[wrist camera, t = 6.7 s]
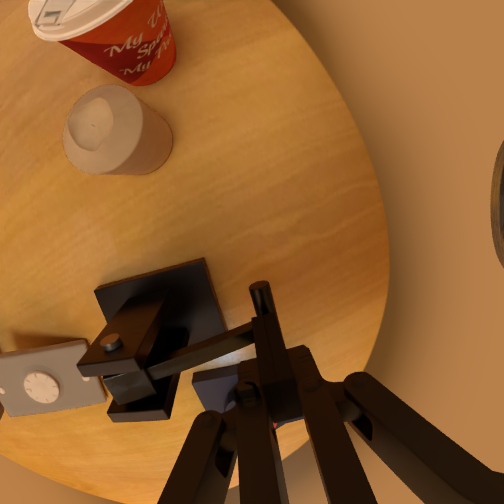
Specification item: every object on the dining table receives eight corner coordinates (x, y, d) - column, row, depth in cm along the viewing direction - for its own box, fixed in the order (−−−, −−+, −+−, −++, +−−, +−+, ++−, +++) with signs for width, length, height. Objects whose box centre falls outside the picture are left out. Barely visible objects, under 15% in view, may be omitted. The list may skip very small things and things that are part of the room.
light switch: (108, 407, 26) (8, 422, 19) (102, 379, 31) (13, 394, 24) (85, 347, 24) (-23, 364, 17) (84, 323, 29) (-12, 340, 22)
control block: (297, 349, 27) (305, 369, 24) (310, 406, 30) (316, 427, 26) (193, 373, 28) (189, 394, 24) (220, 426, 30) (219, 447, 26)
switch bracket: (204, 257, 25) (180, 321, 13) (229, 335, 27) (228, 428, 15) (98, 286, 25) (30, 348, 13) (129, 355, 27) (89, 435, 15)
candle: (104, 160, 22) (37, 153, 12) (132, 104, 21) (78, 67, 11) (154, 185, 23) (104, 190, 13) (185, 127, 22) (153, 94, 12)
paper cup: (166, 106, 21) (96, 33, 8) (95, 88, 20) (0, 36, 7) (203, 33, 20) (181, -72, 6) (131, 21, 19) (73, -62, 5)
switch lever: (260, 276, 19) (276, 285, 17) (279, 348, 21) (294, 362, 19) (93, 337, 16) (87, 354, 14) (131, 404, 17) (132, 425, 15)
